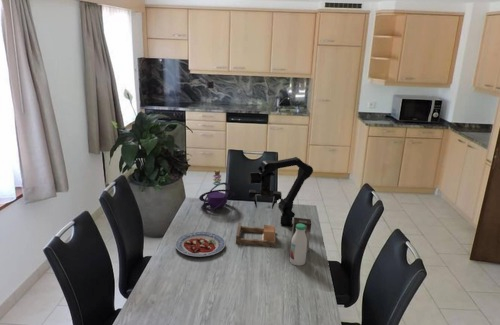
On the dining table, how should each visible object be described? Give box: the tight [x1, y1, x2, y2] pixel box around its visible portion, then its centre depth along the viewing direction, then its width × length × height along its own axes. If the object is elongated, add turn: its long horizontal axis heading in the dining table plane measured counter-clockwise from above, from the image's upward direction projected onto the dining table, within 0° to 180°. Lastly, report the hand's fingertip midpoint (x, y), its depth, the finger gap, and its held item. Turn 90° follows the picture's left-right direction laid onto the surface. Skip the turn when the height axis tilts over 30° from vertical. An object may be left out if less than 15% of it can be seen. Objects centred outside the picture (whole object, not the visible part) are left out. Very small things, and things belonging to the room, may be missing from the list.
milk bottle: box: [289, 223, 307, 267], centre depth 186 cm, size 8×8×20 cm
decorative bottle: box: [198, 169, 235, 212], centre depth 245 cm, size 22×21×25 cm
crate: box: [262, 224, 276, 241], centre depth 210 cm, size 6×8×6 cm
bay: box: [235, 222, 276, 247], centre depth 211 cm, size 21×16×4 cm
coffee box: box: [290, 216, 312, 253], centre depth 200 cm, size 9×6×16 cm
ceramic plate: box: [174, 231, 226, 258], centre depth 199 cm, size 26×26×3 cm
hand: (264, 208), depth 221 cm, fingers open, 9 cm apart
